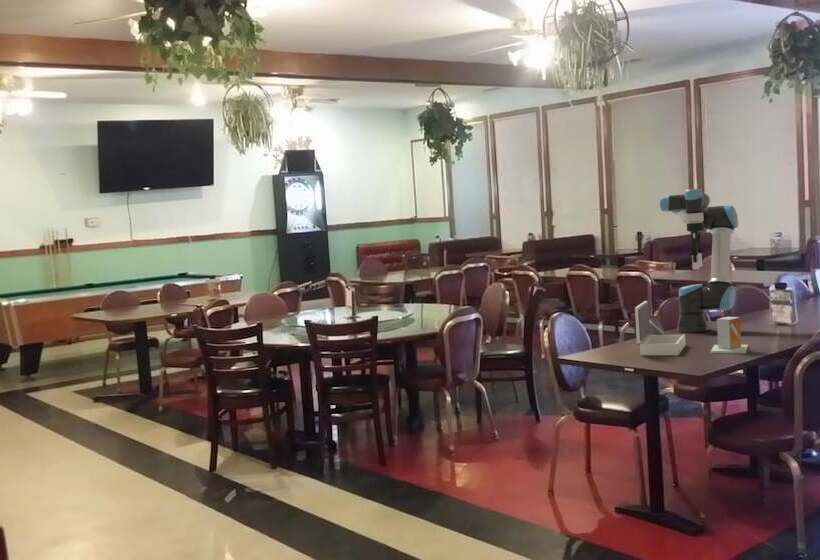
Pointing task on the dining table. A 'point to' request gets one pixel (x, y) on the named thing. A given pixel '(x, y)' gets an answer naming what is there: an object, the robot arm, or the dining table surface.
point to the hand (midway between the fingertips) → (697, 268)
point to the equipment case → (655, 336)
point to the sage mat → (733, 350)
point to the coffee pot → (656, 321)
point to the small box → (729, 332)
